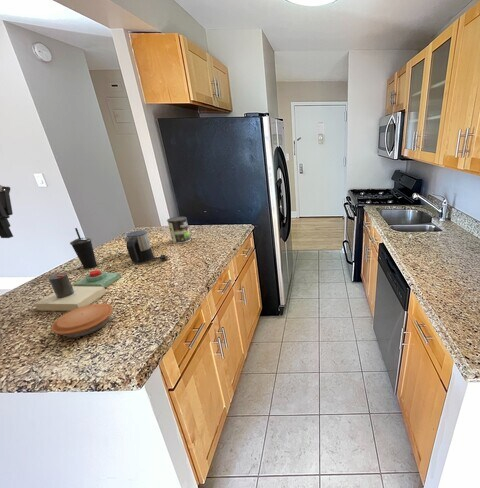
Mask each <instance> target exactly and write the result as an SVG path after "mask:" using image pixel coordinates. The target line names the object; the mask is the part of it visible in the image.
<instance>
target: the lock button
mask: <svg viewBox="0 0 480 488" xmlns="http://www.w3.org/2000/svg"><path fill="white" fill-rule="evenodd" d="M100 271H101V270H100V269H95V270H92V271H90V272H89V273H88V275H89V274H90V276H91V277H96V276H99V275H101V272H100Z"/></svg>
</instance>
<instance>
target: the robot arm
mask: <svg viewBox="0 0 480 488" xmlns="http://www.w3.org/2000/svg"><path fill="white" fill-rule="evenodd" d="M10 193H11V187H10V186H4V185H1V184H0V238H1V239H10V238H14V235H13V233H12V231H11V229H10V228H11V224H10V221H9V219H10V216H12V215H13V214H14V213H13V207H12V201H11V196H10Z"/></svg>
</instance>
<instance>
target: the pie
mask: <svg viewBox="0 0 480 488" xmlns="http://www.w3.org/2000/svg"><path fill="white" fill-rule="evenodd" d="M113 311H114V307H113V306H112V304H109V303H91V304H89V305H86V306H83V307H79V308H77V309H74V310H72V311H67V312H66V313H65V314H63V315H61V316H60V317H59V318H57V319H56V320H55V321H54V322H53V323H52V325H51V327H50V330H51V332H53V333H54V334H57V335H61V336H64V337H66V338H80V337H84V336H87V335H91V334H92V333H94V332H97V331H98V330H100V329H101V328H103V327H104V326H105V325H106V324H107V323H108V321H109V319H110V317H111V315H112V314H113Z"/></svg>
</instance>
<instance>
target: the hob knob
mask: <svg viewBox="0 0 480 488" xmlns="http://www.w3.org/2000/svg"><path fill="white" fill-rule="evenodd" d="M48 281H49V284H50V287H51V288H52V291H53V293H54V292H55V295H56V297H57V298H64V297H67V296H70V295H72V294H73V293H74V290H73V287H72V286H73V284H72V283H71V281H70V278H69V276H68V273H66V272H61V273H60V272H59V273H56V274H52V275H51V276H49V277H48Z"/></svg>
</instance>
